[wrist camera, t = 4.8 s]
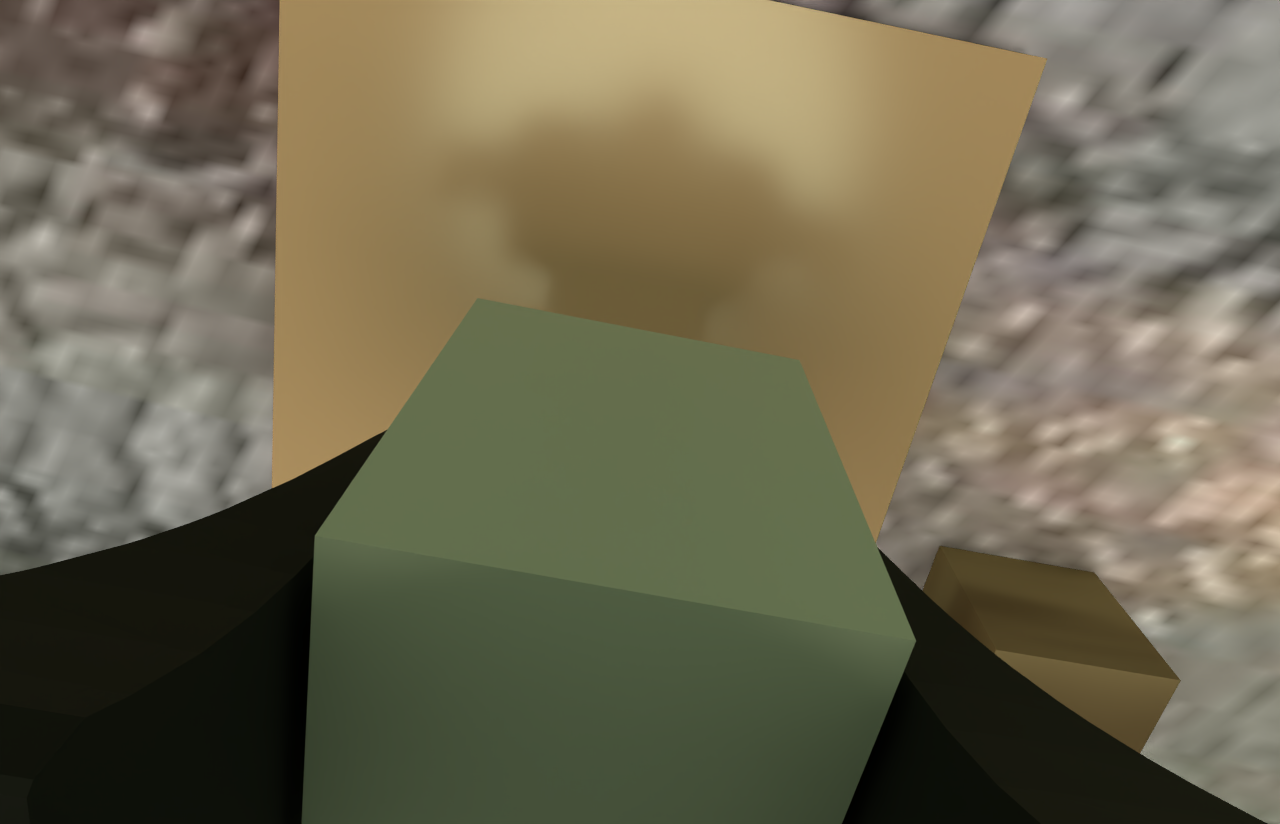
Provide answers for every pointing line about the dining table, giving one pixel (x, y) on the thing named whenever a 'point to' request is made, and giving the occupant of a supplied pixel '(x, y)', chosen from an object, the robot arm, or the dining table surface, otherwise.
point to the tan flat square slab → (630, 196)
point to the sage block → (598, 593)
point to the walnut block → (1059, 637)
